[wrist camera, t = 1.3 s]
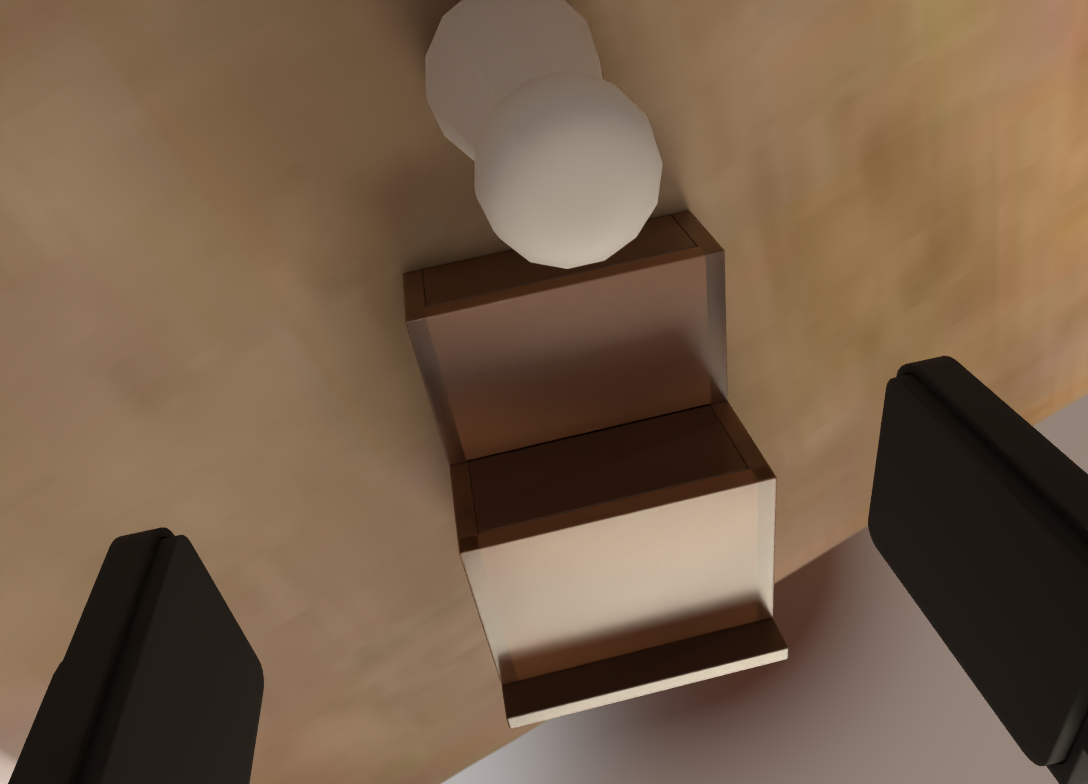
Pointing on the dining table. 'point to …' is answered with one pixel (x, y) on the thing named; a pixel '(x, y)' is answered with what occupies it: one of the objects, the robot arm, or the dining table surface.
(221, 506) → the dining table surface
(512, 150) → the salt shaker
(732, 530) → the spice rack
